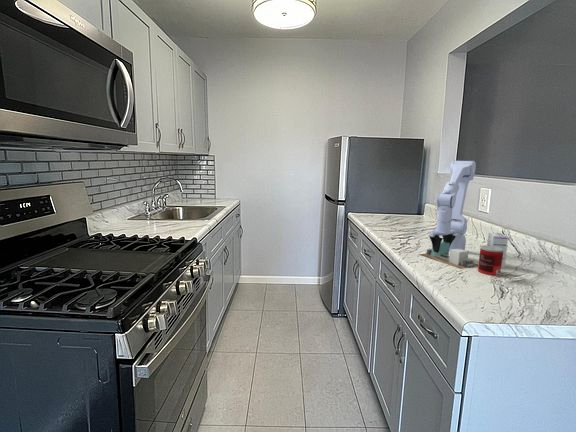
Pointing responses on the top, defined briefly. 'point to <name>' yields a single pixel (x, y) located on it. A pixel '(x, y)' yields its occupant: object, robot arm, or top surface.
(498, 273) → the canned food
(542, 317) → the top surface
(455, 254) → the grey module
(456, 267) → the mounting board
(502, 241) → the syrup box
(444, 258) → the steel rail
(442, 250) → the teal module
